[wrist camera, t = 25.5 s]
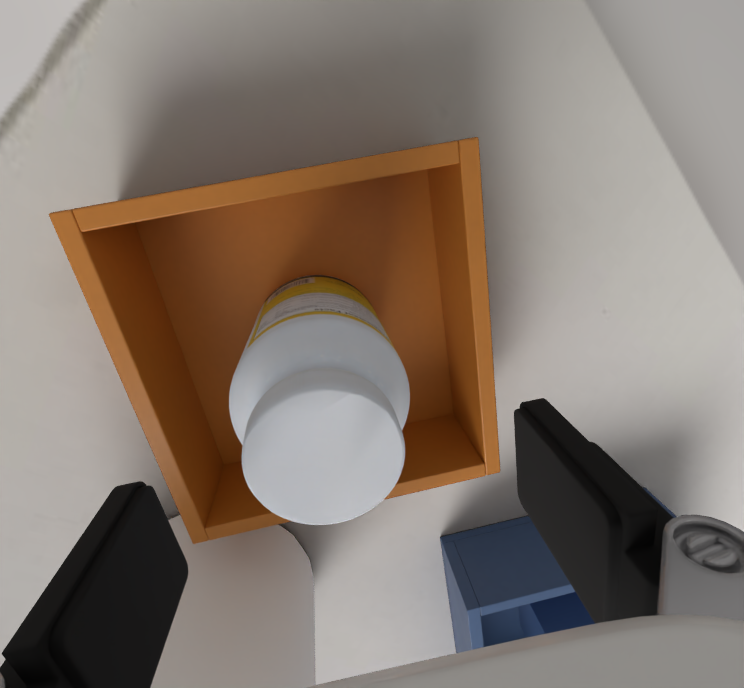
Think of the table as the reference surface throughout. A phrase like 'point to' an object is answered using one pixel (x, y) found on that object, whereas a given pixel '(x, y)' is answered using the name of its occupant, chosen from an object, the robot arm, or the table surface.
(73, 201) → the table surface
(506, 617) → the blue bin
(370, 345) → the pill bottle
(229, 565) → the can
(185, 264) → the amber bin
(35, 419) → the table surface
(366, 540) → the table surface
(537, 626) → the blue block
